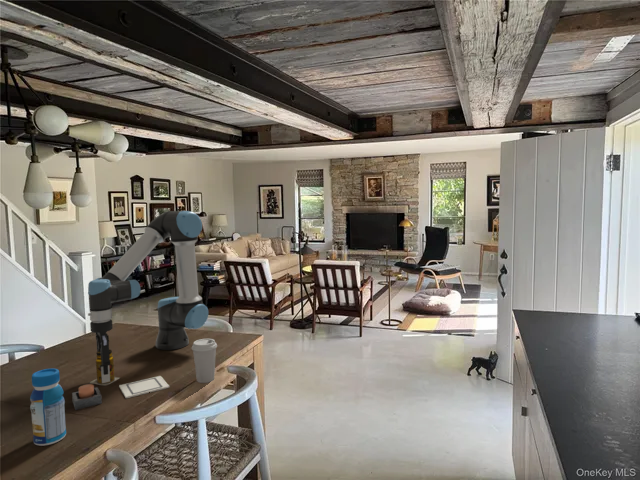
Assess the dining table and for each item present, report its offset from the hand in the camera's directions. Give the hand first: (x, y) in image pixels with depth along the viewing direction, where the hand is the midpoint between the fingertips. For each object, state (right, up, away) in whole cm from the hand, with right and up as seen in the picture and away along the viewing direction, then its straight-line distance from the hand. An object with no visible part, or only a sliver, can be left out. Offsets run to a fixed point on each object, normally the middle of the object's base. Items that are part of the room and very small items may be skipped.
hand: (104, 379), depth 167 cm
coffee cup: (+39, -1, +1) cm, 39 cm away
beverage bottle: (+4, -5, -41) cm, 41 cm away
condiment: (0, -1, +1) cm, 1 cm away
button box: (+3, -2, -17) cm, 18 cm away
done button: (+3, 0, -18) cm, 18 cm away
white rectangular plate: (+18, -1, -6) cm, 19 cm away
